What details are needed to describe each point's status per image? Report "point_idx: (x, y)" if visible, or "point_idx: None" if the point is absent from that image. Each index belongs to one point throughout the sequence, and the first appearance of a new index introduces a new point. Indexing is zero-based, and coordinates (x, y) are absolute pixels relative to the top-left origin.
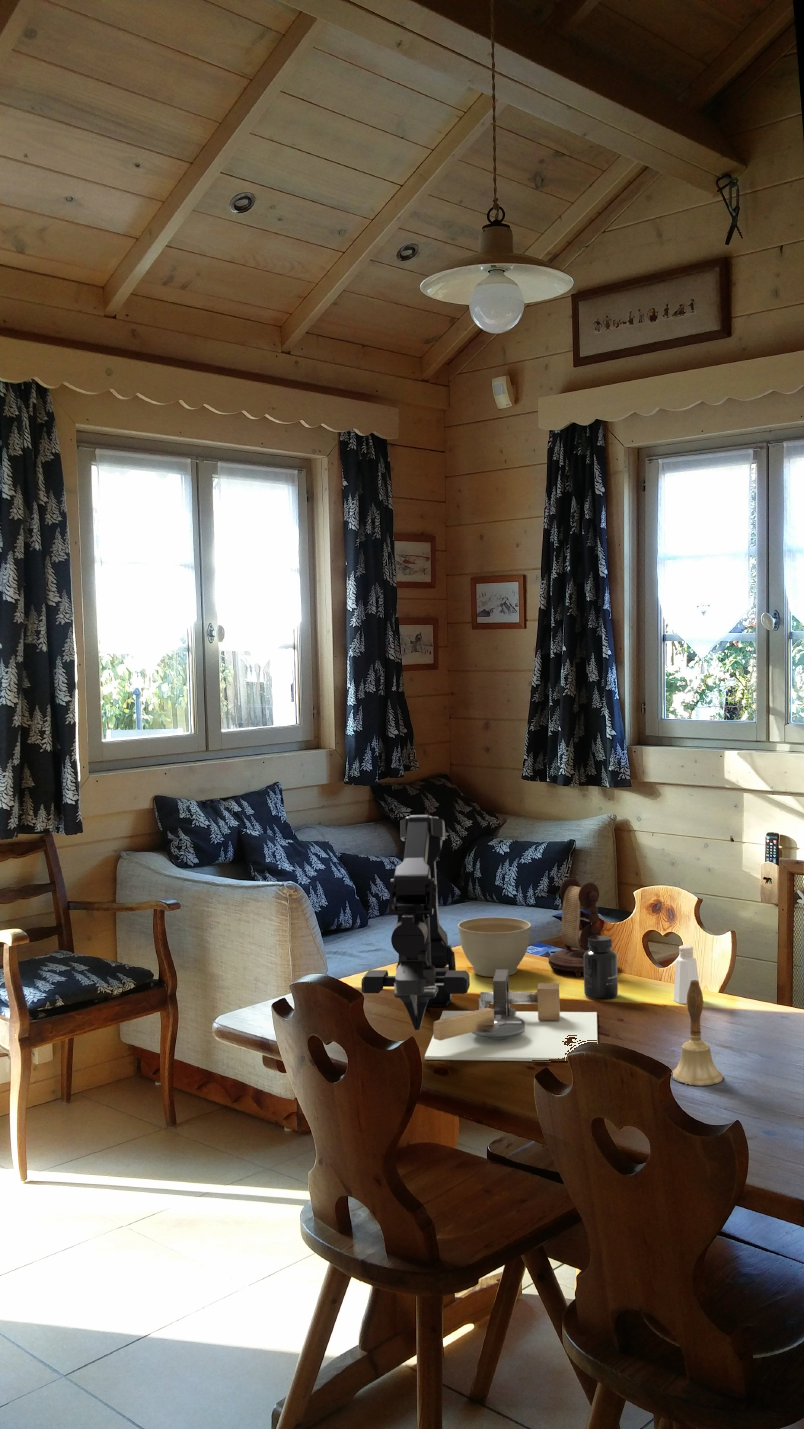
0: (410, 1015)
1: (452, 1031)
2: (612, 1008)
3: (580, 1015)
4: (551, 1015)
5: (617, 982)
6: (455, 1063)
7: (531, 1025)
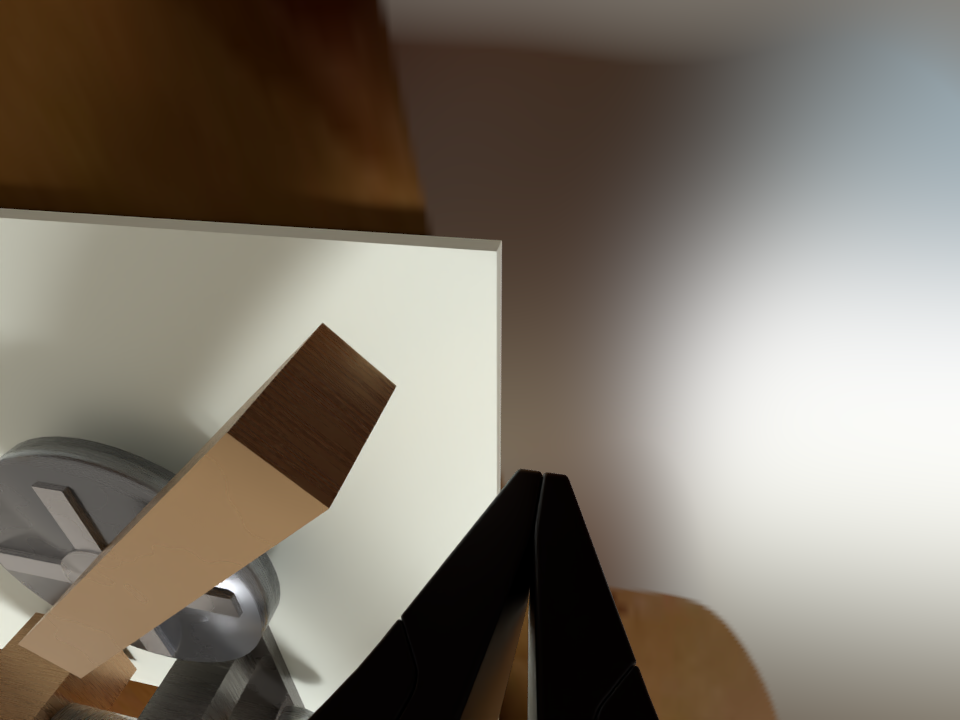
0: (605, 623)
1: (221, 429)
2: None
3: None
4: None
5: None
6: (247, 148)
7: None
